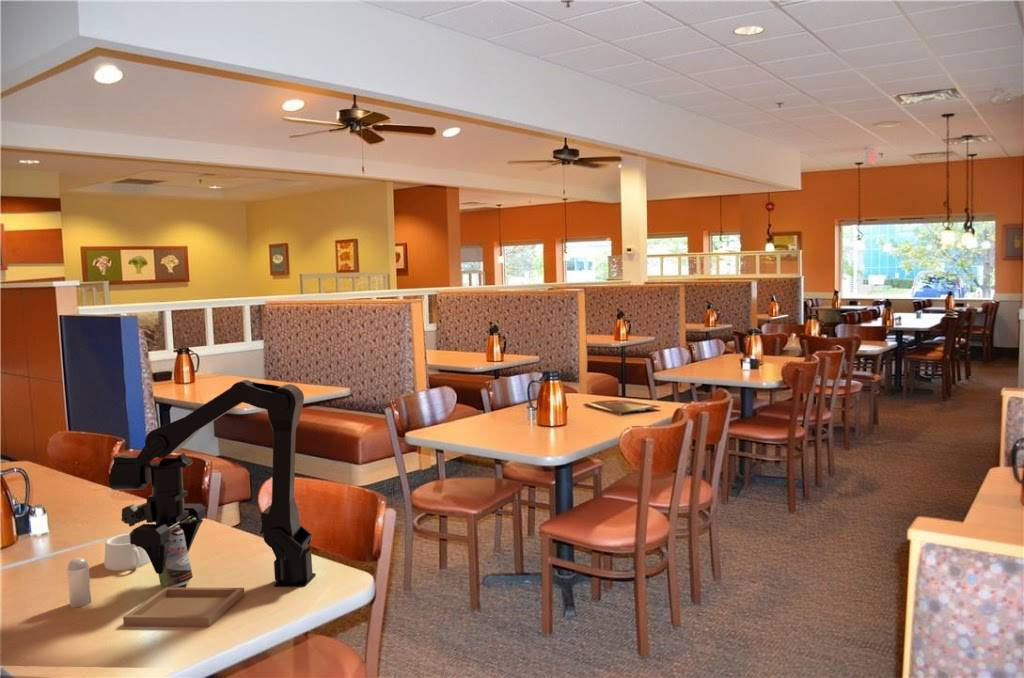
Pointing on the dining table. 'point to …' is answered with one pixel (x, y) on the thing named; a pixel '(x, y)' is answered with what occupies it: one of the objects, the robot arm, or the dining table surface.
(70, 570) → the salt shaker
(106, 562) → the mug
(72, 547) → the dining table surface
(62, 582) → the dining table surface
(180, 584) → the beverage can
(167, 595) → the tray
